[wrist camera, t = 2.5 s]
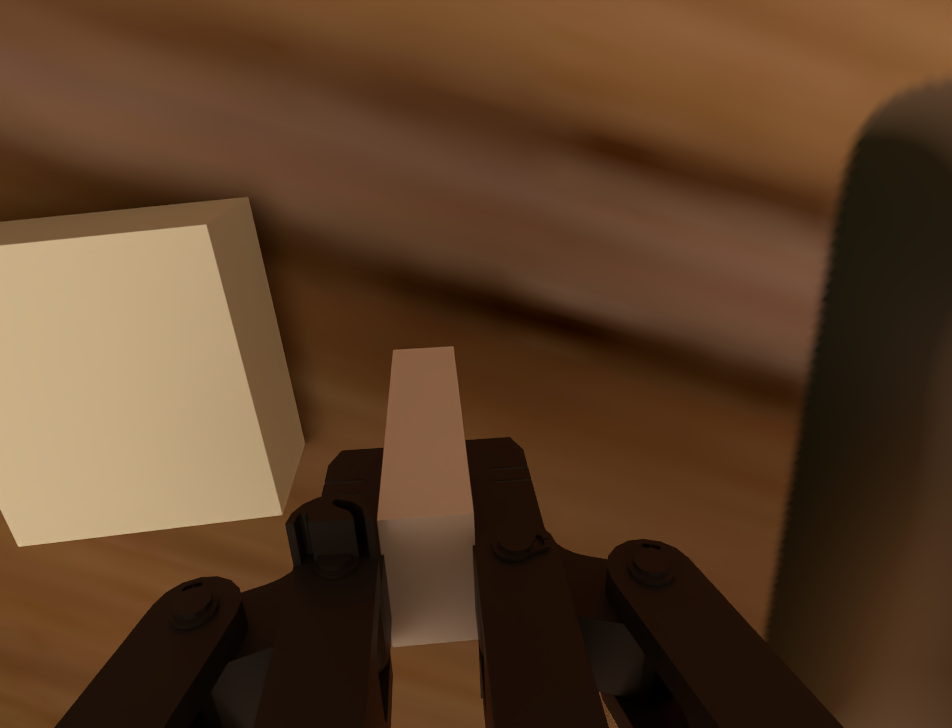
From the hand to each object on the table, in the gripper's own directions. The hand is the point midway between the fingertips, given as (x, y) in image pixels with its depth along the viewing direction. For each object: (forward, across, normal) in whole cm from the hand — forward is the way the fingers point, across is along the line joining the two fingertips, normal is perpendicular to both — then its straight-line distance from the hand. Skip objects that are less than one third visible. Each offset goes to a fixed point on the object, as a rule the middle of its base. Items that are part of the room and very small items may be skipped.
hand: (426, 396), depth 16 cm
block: (+6, +9, +1) cm, 11 cm away
